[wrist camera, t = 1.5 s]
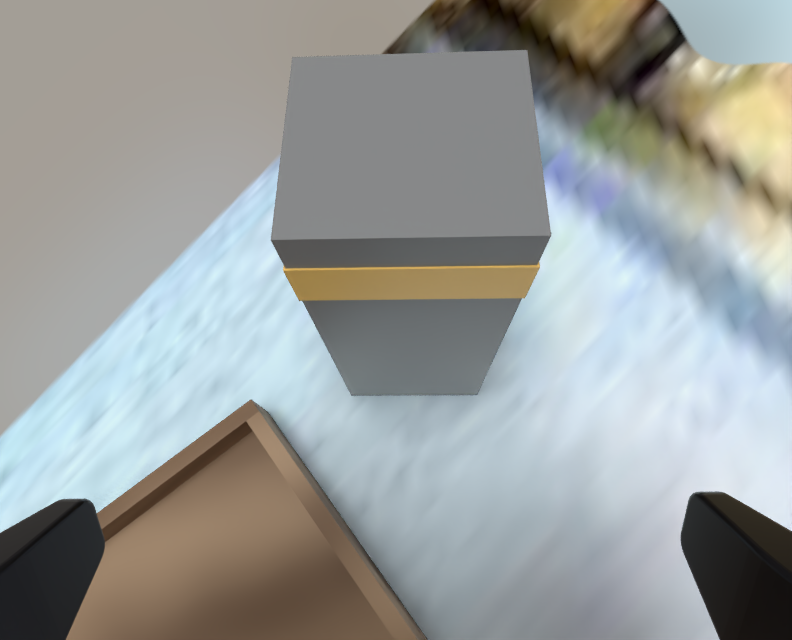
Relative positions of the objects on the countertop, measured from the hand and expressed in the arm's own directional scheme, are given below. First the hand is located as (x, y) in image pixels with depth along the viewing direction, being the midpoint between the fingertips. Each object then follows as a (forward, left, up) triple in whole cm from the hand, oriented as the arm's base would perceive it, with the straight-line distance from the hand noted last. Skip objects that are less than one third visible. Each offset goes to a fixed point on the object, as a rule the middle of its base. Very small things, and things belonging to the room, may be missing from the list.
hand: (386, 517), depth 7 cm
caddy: (+6, -5, -13) cm, 15 cm away
